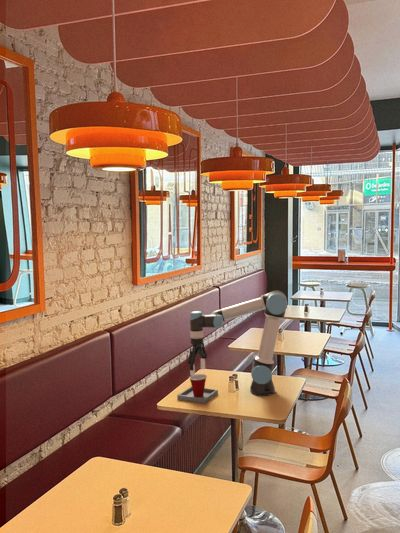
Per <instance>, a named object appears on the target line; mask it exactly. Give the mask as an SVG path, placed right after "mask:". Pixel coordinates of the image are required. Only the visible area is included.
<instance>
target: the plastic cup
mask: <svg viewBox="0 0 400 533" xmlns="http://www.w3.org/2000/svg"><path fill="white" fill-rule="evenodd" d="M207 376H208V375H206V374H204V373H203V374H202V373H199V374H196V373H195V376H193V375H190V376H188V379H189V381H190V383H191V384H190V385H191V386H192V390H193V394H194V396H195V397H202V396H203V394H204V388H206V380H207Z"/></svg>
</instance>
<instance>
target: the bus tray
mask: <svg viewBox="0 0 400 533" xmlns="http://www.w3.org/2000/svg"><path fill="white" fill-rule="evenodd" d="M218 394H219V391H218V389H215V388H208V387H207V388H206V387H205V388H204V394H203V396H202V397H195V396H194V394H193V390H192V385H191V386H189V387H188V388H186V389H185V390H183V391H182V392H180V393H178V394H177V401H183V400H184V401H185V402H189V403H190V402H191V403H195V404H203V405H205V404H206V403H208V402H210V401H211V400H212V399H213V398H215V397H216V396H218Z"/></svg>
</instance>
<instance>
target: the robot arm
mask: <svg viewBox="0 0 400 533" xmlns="http://www.w3.org/2000/svg"><path fill="white" fill-rule="evenodd" d="M287 298H288V297H287V295H286V294H285V293H284V292H283V291H281V290H279V289H278V290H277V289H276V290H272V291H270V292H267V293H265V294H262V295H261V296H260V297H258V298H253V299H250V300H247V301H244V302H241V303H237V304H234V305H231V306H228V307H224V308H221V309H215V310H213V311H211V312H210V314H203V312H202V311H200V310H196V311H191V312H190V313H189V325H190V327H189V328H190V329H189V330H190V331H189V334H190V344H191V345H192V346H191V347H189V354H188V360H187V365H188V366H189V375H190V376H192V375H193V376H195V375H196V367H195V361H196V358H197V356H198V354H199V356H200V370H206V359H207V357H208V354H207V352H206V351H207V350H206V348H205V343H204V328H205V329H206V328H207V329H208V328H210V329H211V328H212V329H214V328H215V329H220V328H222V327H223V326H224V325H223V324H224V322H225V321H229V320H232V319H235V318H239V317H242V316H247V315H249V314H253V313H256V312H260V311H263V310H264V312H263V313H264V315H265V320H264V325H263V330H262V335H261V338H260V344H259V349H258V351H257V352H258V354H254V355H253V356H252V368H251V374H250V375H251V378H252V381H251V385H250V387H249V388H250V389H249V390H250V391H249V392H250V394H253V395H255V396H264V397H265V396H272V395H274V394H275V392H276V387H275V385H274V382H273V369H274V365H275V360H274V359H273V357H274V352H275V350H276V349H275V348H276V347H275V346H276V344H277V343H276V342H277V338H278V335H279V330H280V326H281V325H280V324H281V322H282V321H281V320H283V319H284V318H285V315H286V310H287V309H288V304H289V303H288V299H287Z"/></svg>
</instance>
